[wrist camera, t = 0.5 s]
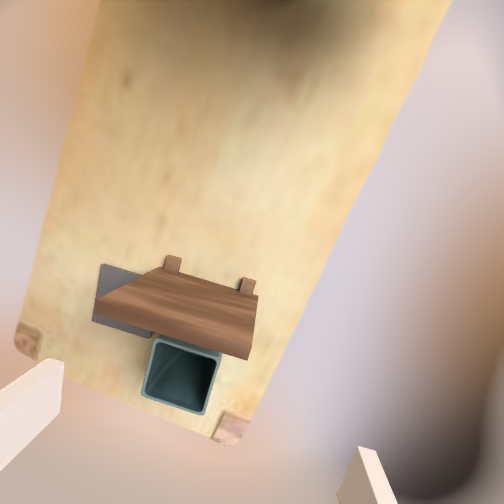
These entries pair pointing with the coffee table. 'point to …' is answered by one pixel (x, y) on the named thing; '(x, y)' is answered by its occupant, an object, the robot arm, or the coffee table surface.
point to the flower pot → (181, 374)
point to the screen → (186, 309)
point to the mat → (109, 282)
